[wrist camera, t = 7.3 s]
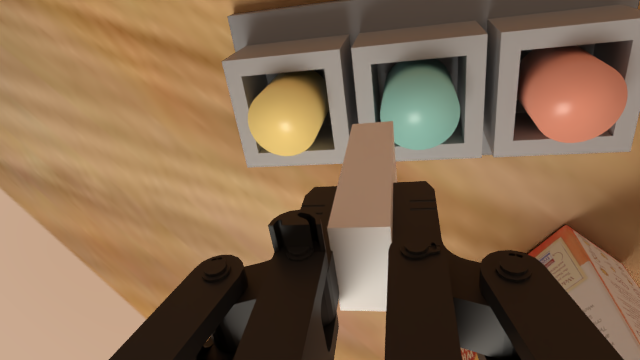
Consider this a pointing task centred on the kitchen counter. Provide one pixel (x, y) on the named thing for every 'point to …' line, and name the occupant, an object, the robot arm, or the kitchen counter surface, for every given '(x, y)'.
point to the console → (428, 43)
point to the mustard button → (289, 112)
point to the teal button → (420, 103)
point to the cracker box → (593, 288)
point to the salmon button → (570, 93)
